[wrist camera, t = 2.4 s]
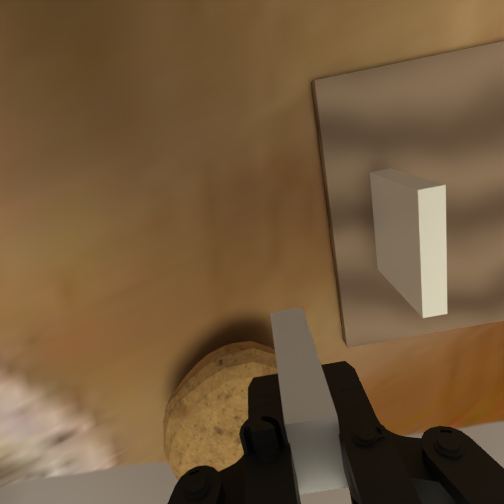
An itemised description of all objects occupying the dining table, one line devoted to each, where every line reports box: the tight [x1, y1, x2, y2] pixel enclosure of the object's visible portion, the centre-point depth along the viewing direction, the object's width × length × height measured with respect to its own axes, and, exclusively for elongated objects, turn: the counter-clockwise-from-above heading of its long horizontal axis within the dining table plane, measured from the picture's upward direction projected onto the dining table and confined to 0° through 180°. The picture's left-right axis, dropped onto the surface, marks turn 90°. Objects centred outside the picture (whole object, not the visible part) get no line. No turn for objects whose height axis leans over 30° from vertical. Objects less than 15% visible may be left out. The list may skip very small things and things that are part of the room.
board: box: [312, 41, 504, 347], centre depth 29 cm, size 22×16×1 cm
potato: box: [163, 341, 278, 479], centre depth 31 cm, size 10×14×8 cm
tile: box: [370, 168, 447, 318], centre depth 25 cm, size 8×2×8 cm, turn 11°
